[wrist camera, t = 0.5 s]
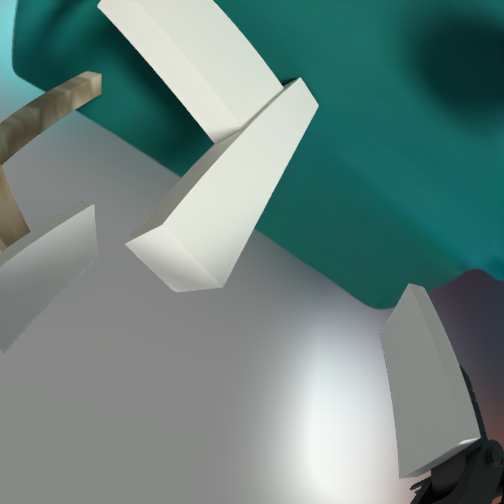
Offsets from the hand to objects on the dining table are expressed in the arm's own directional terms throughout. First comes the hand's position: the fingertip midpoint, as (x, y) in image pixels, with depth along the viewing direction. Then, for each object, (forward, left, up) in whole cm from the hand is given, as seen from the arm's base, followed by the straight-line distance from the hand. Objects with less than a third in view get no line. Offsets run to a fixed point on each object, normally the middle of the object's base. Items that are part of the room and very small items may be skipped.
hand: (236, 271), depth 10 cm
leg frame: (-4, -8, -18) cm, 20 cm away
